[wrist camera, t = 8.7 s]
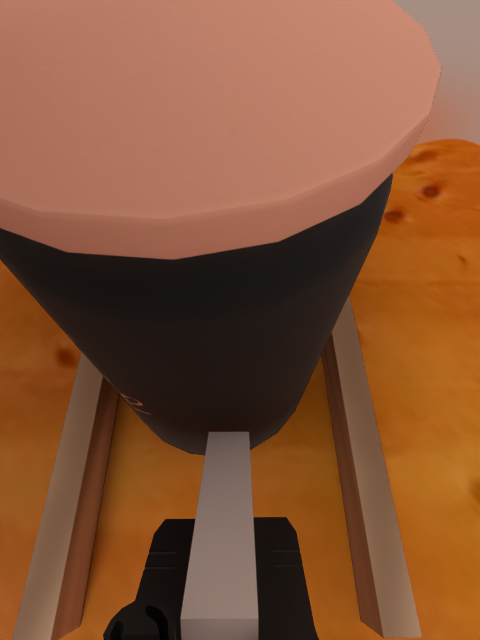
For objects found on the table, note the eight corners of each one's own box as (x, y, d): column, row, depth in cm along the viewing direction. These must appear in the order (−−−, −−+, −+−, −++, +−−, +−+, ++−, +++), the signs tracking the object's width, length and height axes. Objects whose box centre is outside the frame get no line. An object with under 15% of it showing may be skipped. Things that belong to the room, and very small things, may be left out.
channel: (47, 626, 16) (-171, 736, 8) (126, 240, 29) (77, 115, 20) (393, 620, 16) (562, 720, 8) (323, 238, 29) (358, 113, 20)
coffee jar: (141, 307, 25) (-15, -46, 10) (289, 299, 26) (365, -53, 10) (127, 467, 20) (-281, 239, 4) (315, 453, 20) (568, 199, 5)
